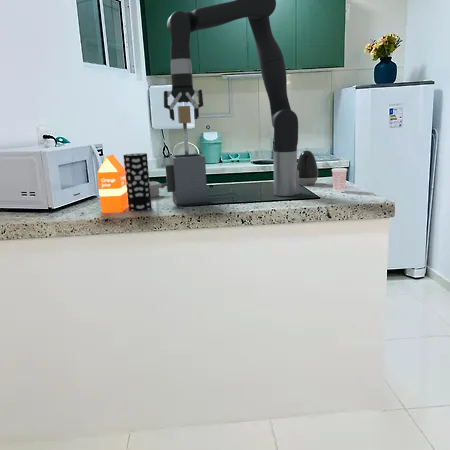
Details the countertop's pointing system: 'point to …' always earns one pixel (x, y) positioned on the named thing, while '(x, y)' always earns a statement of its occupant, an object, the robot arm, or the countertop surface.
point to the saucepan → (155, 188)
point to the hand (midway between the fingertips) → (184, 119)
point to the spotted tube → (137, 182)
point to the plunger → (184, 124)
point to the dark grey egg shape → (307, 168)
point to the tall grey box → (187, 180)
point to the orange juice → (112, 186)
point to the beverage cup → (339, 178)
